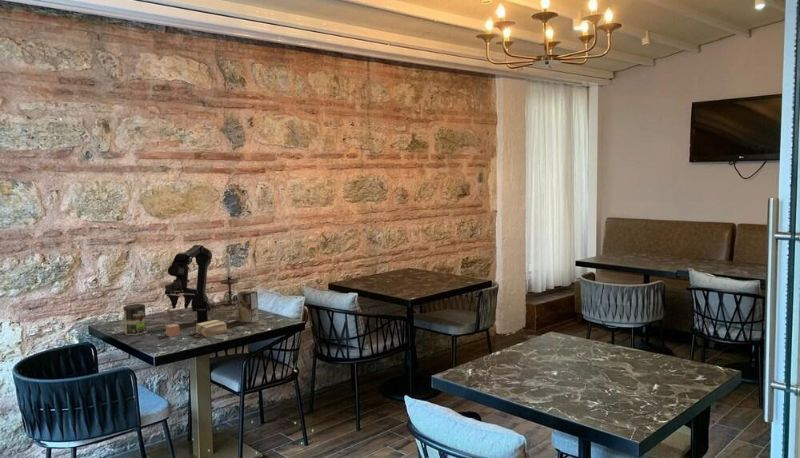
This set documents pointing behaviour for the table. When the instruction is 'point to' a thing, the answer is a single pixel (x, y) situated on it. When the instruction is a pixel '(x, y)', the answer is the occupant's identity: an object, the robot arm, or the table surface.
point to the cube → (172, 330)
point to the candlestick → (229, 283)
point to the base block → (211, 328)
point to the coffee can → (135, 319)
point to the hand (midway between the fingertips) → (179, 308)
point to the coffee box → (248, 306)
